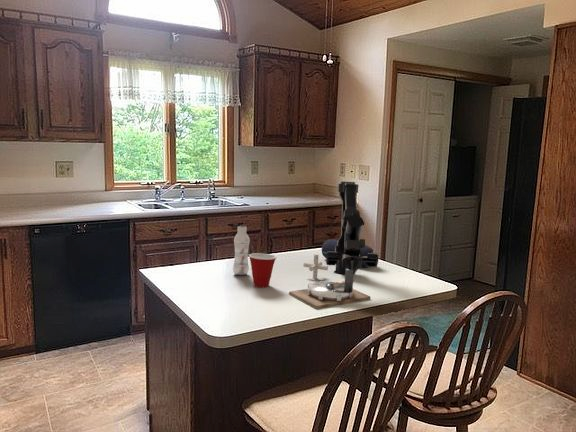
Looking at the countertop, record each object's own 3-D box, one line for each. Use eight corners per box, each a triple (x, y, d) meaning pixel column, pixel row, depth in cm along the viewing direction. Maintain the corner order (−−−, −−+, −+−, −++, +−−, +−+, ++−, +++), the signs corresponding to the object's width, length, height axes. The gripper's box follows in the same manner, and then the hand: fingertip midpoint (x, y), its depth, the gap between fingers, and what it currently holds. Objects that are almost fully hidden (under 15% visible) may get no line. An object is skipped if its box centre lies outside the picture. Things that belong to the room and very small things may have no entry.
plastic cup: (280, 284, 187) (282, 254, 185) (266, 291, 178) (267, 259, 176) (257, 279, 192) (258, 250, 190) (241, 286, 183) (242, 255, 181)
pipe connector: (330, 277, 200) (332, 253, 198) (322, 283, 191) (323, 258, 189) (308, 273, 204) (309, 250, 202) (298, 279, 195) (300, 255, 193)
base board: (315, 309, 161) (316, 300, 161) (288, 294, 175) (289, 286, 175) (370, 299, 174) (370, 291, 173) (341, 286, 188) (341, 278, 188)
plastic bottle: (229, 275, 196) (231, 227, 193) (237, 271, 202) (238, 224, 199) (243, 277, 194) (245, 228, 191) (251, 273, 200) (252, 226, 197)
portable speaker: (376, 266, 222) (377, 245, 220) (366, 270, 214) (367, 248, 212) (330, 256, 236) (331, 236, 235) (318, 260, 229) (319, 239, 227)
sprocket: (298, 295, 171) (299, 267, 169) (317, 283, 186) (319, 258, 184) (343, 304, 163) (345, 275, 162) (359, 291, 178) (361, 265, 176)
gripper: (327, 229, 175) (325, 267, 166) (379, 231, 173) (380, 269, 164) (327, 246, 184) (325, 282, 175) (376, 248, 182) (377, 285, 173)
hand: (351, 279), depth 172 cm, fingers closed, pressing on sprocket
